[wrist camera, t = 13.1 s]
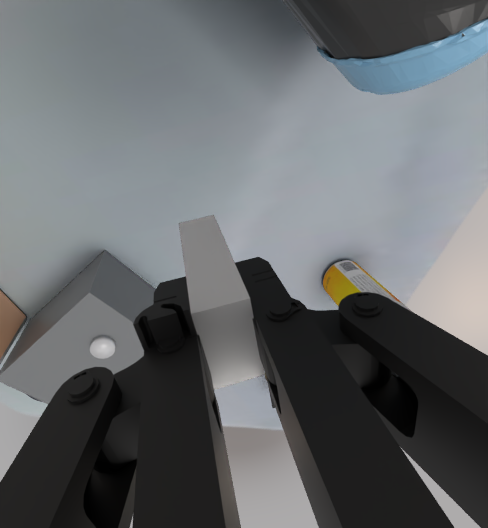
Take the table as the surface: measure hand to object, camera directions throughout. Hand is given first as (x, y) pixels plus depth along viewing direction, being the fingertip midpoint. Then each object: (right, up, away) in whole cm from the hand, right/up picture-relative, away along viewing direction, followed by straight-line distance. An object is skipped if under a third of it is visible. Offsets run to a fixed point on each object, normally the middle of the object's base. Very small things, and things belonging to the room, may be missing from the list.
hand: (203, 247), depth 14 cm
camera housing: (-17, -7, +29) cm, 35 cm away
